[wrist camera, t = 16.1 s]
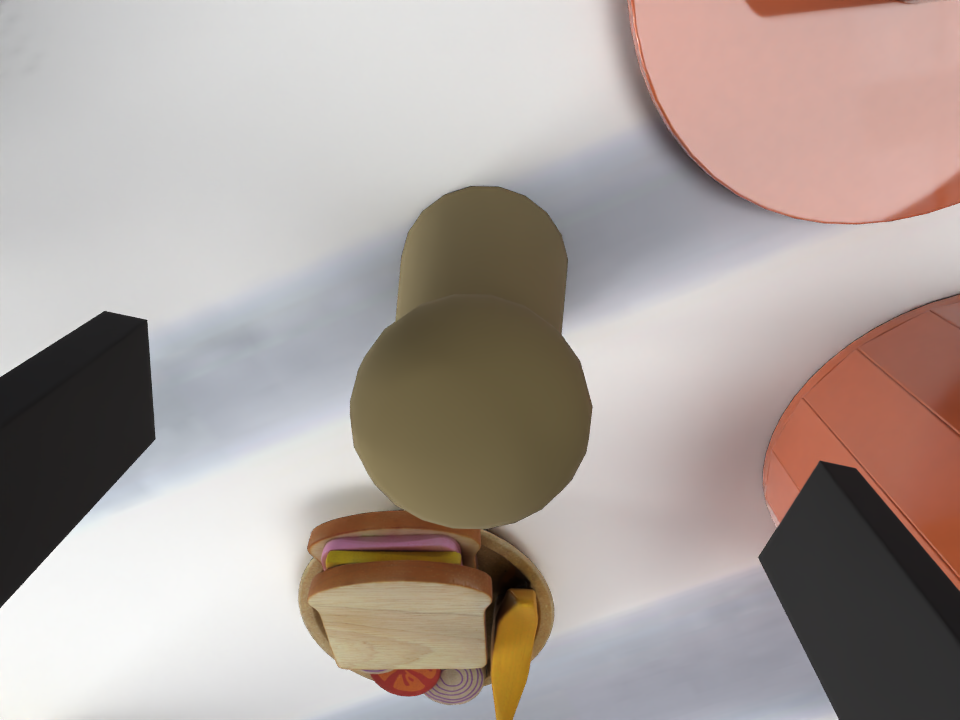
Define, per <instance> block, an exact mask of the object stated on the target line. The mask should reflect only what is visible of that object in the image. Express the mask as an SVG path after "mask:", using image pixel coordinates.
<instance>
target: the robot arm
mask: <svg viewBox="0 0 960 720" xmlns="http://www.w3.org/2000/svg"><path fill="white" fill-rule="evenodd" d="M154 440H155V426H154V411H153V397H152V382H151V368H150V353H149V339H148V324H147V320H145V319H140V318H135V317H131V316H126V315H121V314H116V313H112V312H107V311H104V312H102V313H101V314H99V315H98V316H96V317H95V318H93V319H91V320H90V321H88V322H87V323H85V324H83V325H82V326H80V327H79V328H77V329H76V330H74V331H72V332H71V333H69V334H68V335H66V336H65V337H63V338H61V339H60V340H58V341H57V342H55V343H53V344H52V345H50V346H49V347H47V348H46V349H44V350H42V351H41V352H39V353H38V354H36V355H34V356H33V357H31V358H30V359H28V360H27V361H25V362H23V363H22V364H20V365H19V366H17V367H16V368H14V369H12V370H11V371H9V372H8V373H6V374H4V375H3V376H1V377H0V608H1V607H2V606H3V604H4V603H5V602H6V601H7V600H8V599H9V598H10V597H11V596H12V595H13V594H14V593H15V591H16V590H17V589H18V588H19V587H20V586H21V585H22V584H23V583H24V582H25V581H26V579H27V578H28V577H29V576H30V575H31V574H32V573H33V572H34V571H35V570H36V569H37V568H38V566H39V565H40V564H41V563H42V562H43V561H44V560H45V559H46V558H47V557H48V556H49V554H50V553H51V552H52V551H53V550H54V549H55V548H56V547H57V546H58V545H59V544H60V542H61V541H62V540H63V539H64V538H65V537H66V536H67V535H68V534H69V533H70V532H71V531H72V529H73V528H74V527H75V526H76V525H77V524H78V523H79V522H80V521H81V520H82V519H83V517H84V516H85V515H86V514H87V513H88V512H89V511H90V510H91V509H92V508H93V507H94V505H95V504H96V503H97V502H98V501H99V500H100V499H101V498H102V497H103V496H104V495H105V494H106V492H107V491H108V490H109V489H110V488H111V487H112V486H113V485H114V484H115V483H116V482H117V480H118V479H119V478H120V477H121V476H122V475H123V474H124V473H125V472H126V471H127V470H128V469H129V467H130V466H131V465H132V464H133V463H134V462H135V461H136V460H137V459H138V458H139V457H140V455H141V454H142V453H143V452H144V451H145V450H146V449H147V448H148V447H149V446H150V445H151V443H152V442H153V441H154ZM758 558H759V560H760V562H761V564H762V566H763V568H764V570H765V572H766V574H767V576H768V578H769V580H770V582H771V584H772V586H773V588H774V590H775V592H776V594H777V596H778V598H779V600H780V602H781V604H782V606H783V608H784V610H785V612H786V614H787V616H788V618H789V620H790V622H791V624H792V626H793V628H794V630H795V632H796V634H797V636H798V638H799V640H800V642H801V644H802V646H803V648H804V650H805V652H806V654H807V656H808V658H809V660H810V662H811V664H812V666H813V668H814V670H815V672H816V674H817V676H818V678H819V680H820V682H821V684H822V686H823V688H824V690H825V692H826V694H827V696H828V698H829V700H830V702H831V704H832V706H833V708H834V710H835V712H836V714H837V716H838V718H839V720H960V591H959V590H958V588H957V587H956V586H955V585H954V584H953V583H952V581H951V580H950V579H949V578H948V577H947V575H946V574H945V573H944V572H943V571H942V569H941V568H940V567H939V566H938V565H937V564H936V562H935V561H934V560H933V559H932V558H931V556H930V555H929V554H928V553H927V552H926V551H925V549H924V548H923V547H922V546H921V545H920V543H919V542H918V541H917V540H916V539H915V537H914V536H913V535H912V534H911V533H910V532H909V530H908V529H907V528H906V527H905V526H904V524H903V523H902V522H901V521H900V520H899V519H898V517H897V516H896V515H895V514H894V513H893V511H892V510H891V509H890V508H889V507H888V505H887V504H886V503H885V502H884V501H883V500H882V498H881V497H880V496H879V495H878V494H877V492H876V491H875V490H874V489H873V488H872V487H871V485H870V484H869V483H868V482H867V481H866V479H865V478H864V477H863V476H862V475H861V473H860V472H859V471H858V470H857V469H856V468H853V467H848V466H844V465H839V464H834V463H829V462H824V461H819V462H818V464H817V466H816V467H815V469H814V470H813V472H812V473H811V475H810V477H809V478H808V480H807V481H806V483H805V484H804V486H803V488H802V489H801V491H800V492H799V494H798V496H797V497H796V499H795V500H794V502H793V503H792V505H791V507H790V508H789V510H788V511H787V513H786V514H785V516H784V518H783V519H782V521H781V522H780V524H779V525H778V527H777V529H776V530H775V532H774V533H773V535H772V537H771V538H770V540H769V541H768V543H767V544H766V546H765V548H764V549H763V551H762V552H761V554H760V555H759V557H758Z"/></svg>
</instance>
